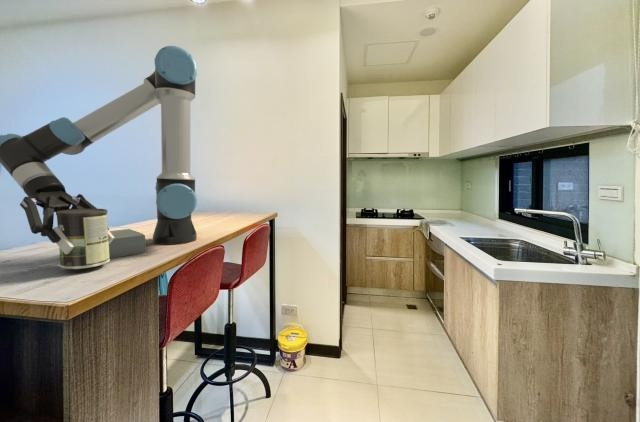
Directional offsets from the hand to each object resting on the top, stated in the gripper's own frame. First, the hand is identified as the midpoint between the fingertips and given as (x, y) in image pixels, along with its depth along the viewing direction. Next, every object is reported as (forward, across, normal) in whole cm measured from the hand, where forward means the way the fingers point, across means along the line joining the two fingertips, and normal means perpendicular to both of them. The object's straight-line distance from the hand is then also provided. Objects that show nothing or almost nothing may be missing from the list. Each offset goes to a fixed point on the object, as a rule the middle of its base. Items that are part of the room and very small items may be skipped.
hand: (91, 245), depth 75 cm
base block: (-2, -15, -11) cm, 18 cm away
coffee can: (+2, 0, -5) cm, 6 cm away
